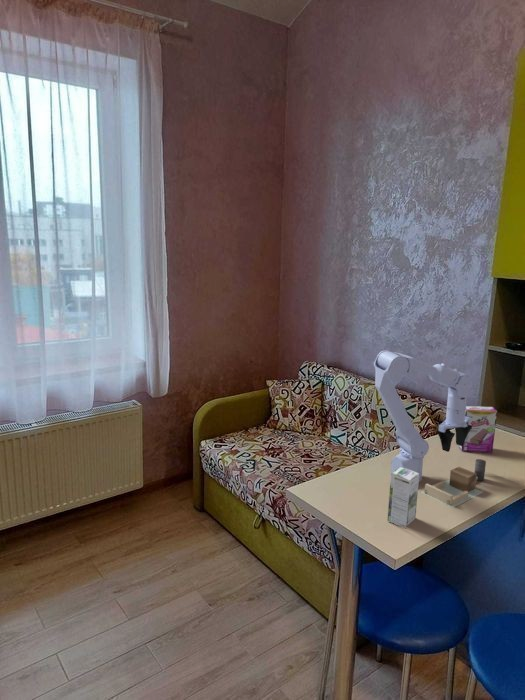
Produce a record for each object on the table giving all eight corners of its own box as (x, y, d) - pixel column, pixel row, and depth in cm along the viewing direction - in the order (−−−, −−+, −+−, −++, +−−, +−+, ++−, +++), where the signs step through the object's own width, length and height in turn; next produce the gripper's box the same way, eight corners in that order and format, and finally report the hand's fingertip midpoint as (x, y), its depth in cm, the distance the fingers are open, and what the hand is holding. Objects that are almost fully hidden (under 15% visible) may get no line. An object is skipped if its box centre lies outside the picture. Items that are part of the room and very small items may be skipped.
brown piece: (466, 492, 148) (468, 474, 147) (449, 485, 153) (450, 467, 152) (490, 481, 156) (492, 463, 154) (473, 474, 160) (474, 456, 159)
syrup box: (396, 513, 139) (399, 466, 136) (416, 520, 135) (419, 472, 132) (386, 521, 135) (389, 473, 132) (407, 529, 131) (410, 479, 128)
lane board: (452, 510, 140) (453, 498, 139) (420, 494, 149) (421, 483, 148) (483, 494, 149) (484, 482, 148) (451, 480, 158) (452, 469, 157)
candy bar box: (461, 452, 180) (465, 409, 176) (457, 446, 185) (461, 405, 181) (493, 453, 179) (497, 410, 175) (488, 447, 184) (492, 406, 180)
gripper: (453, 416, 150) (450, 457, 153) (480, 407, 158) (476, 446, 161) (434, 410, 156) (431, 449, 159) (460, 402, 164) (457, 439, 167)
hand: (452, 447), depth 160 cm, fingers open, 7 cm apart
